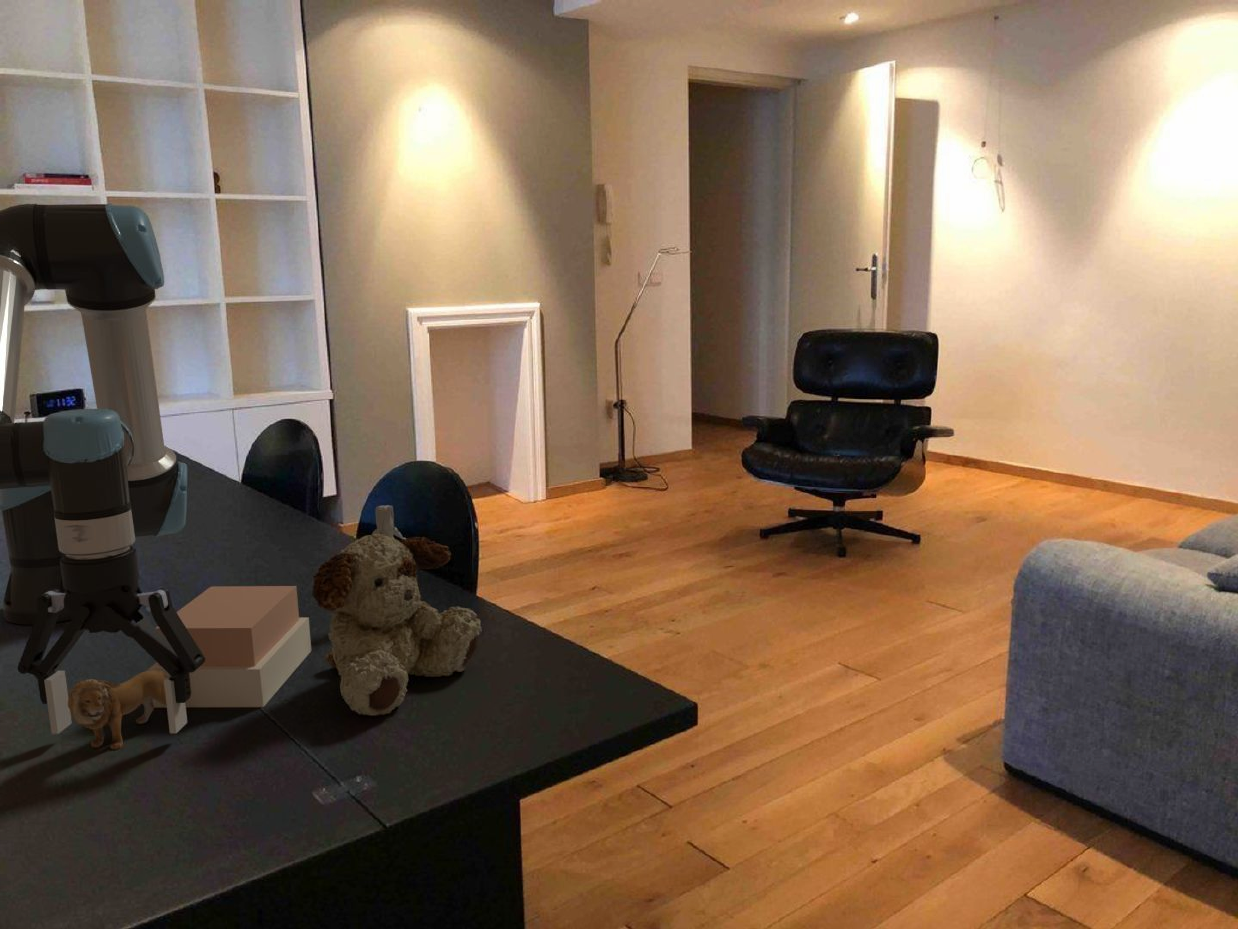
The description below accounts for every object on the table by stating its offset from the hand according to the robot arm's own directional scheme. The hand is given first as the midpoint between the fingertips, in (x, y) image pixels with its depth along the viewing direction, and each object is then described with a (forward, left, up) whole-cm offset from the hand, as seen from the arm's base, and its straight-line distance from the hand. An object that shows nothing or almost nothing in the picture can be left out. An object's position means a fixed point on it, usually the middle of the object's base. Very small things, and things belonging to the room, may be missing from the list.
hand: (120, 728), depth 112 cm
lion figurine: (0, +2, -2) cm, 3 cm away
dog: (+26, +17, -2) cm, 31 cm away
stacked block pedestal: (+6, +18, -2) cm, 19 cm away
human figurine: (+21, +40, -2) cm, 45 cm away
